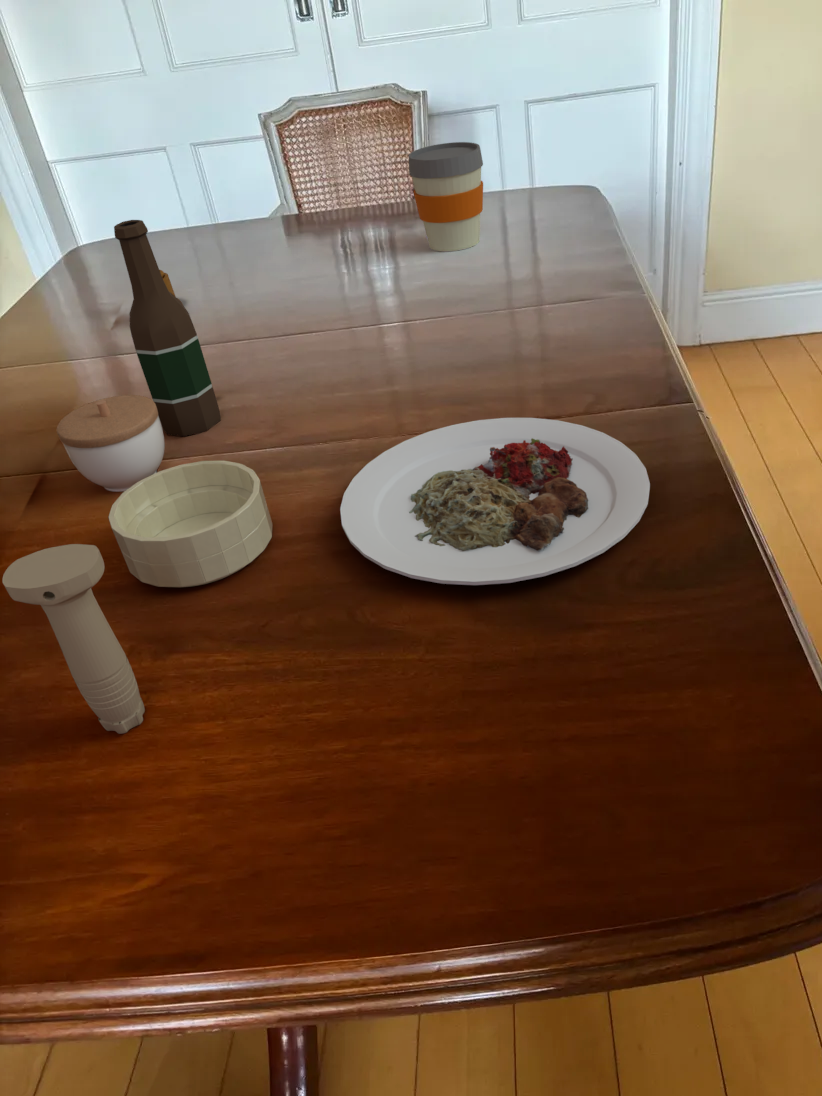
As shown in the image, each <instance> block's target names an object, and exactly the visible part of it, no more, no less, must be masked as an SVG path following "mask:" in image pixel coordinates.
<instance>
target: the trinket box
mask: <svg viewBox="0 0 822 1096" xmlns="http://www.w3.org/2000/svg"><path fill="white" fill-rule="evenodd" d="M56 433H57V436H58V438H59V441H60V442H61V443H62V444H63V447H64V449H65V452H66V454H67V455H68V458H69V459H70V461H71V462H72V464H73V466H74V467H75V469H76V470H77V471H78V472H79V473H80V474H81V475H82V476H83V477H84V478H85V479H86V480H88V481H90V482H92V483H93V484H94V485H98V486H100V487H103V488H104V490H106V491H109V492H113V493H119V492H122V493H123V492H124V491H126V490H127V489H129V488H130V487H132V486H133V485H134V484H136V483H137V482H139V481H140V480H142V479H145V478H147V477H149V476H151V475H153V474H155V473H157V472H158V471H157V470H158V469H159V467H160V466H161V464H162V461H163V459H164V455H165V449H166V448H165V447H166V444H165V443H166V442H165V435H164V429H163V427H162V424H161V422H160V419H159V416H158V410H157V407H156V404H155V403H154V401H153V399H152V398H150V397H146V396H144V395H138V394H125V395H123V394H121V395H115V396H109V397H105V398H102V399H97V400H94V401H91V402H89V403H86V404H83V405H82V406H80V407H77V408H76V409H73V410H72V411H70V412H69V413H68V414H66V415H65V416H64V417H62V418H61V419H60V421H59V423H58V424H57V427H56Z"/></svg>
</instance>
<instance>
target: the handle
mask: <svg viewBox="0 0 822 1096" xmlns="http://www.w3.org/2000/svg"><path fill="white" fill-rule="evenodd" d="M104 572H105V562H104V559H103V556H102V554H101V552H100V549H99V548H98V547H97V545H94V544H84V543H83V544H82V543H71V544H63V545H58V546H52V547H48V548H47V547H46V548H44V549H39V550H38V551H35V552H33V553H29V554H27V555H25V556H22V557H20V558H18V559H16V560H15V561H13V562H12V563H11V564H10V565H8V567H7V569H5V571H4V573H3V576H2V584H3V586H4V588H5V590H6V591H7V593H8V595H9V597H10V598H11V599H12V600H13V601H15V602H20V603H24V604H29V605H38V606H39V605H40V607H41V608H42V610H43V612H44V613H45V615H46V617H47V619H48V621H49V624H50V626H51V629H52V631H53V633H54V635H55V637H56V640H57V642H58V644H59V647H60V649H61V652H62V654H63V657H64V660H65V663H66V664H67V667H68V669H69V672H70V674H71V676H72V678H73V681H74V682H75V684H76V687H77V689H78V690H79V692H80V694H81V695H82V697H83V699H84V700H85V702H86V704H87V705H88V707H89V708H90V709H91V710H92V712H93V713H94V714H95V715H96V716H97V717H98V719H97V720H98V722H99V723H100V725H101V726H102V727H103V729H105V730H106V731H107V732H110V731H111V732H115V733H117V734H119V735H122V734H126V733H128V732H129V731H130V730H131V729H133V728H135V727H137V726H140V725H141V724H142V723H143V722H144V717H143V715H144V714H145V711H146V709H145V705H144V702H143V698H142V697H141V695H140V689H139V685H138V682H137V679H136V676H135V673H134V671H133V669H132V666H131V663H130V662H129V659H128V657H127V655H126V653H125V651H124V648H123V647H122V645H121V644H120V642H119V640H118V638H117V637H116V636H117V635H116V634H115V633H114V631H113V629H112V628H111V626H110V623H109V622H108V620H107V618H106V616H105V615H104V613H103V610H102V609H101V607H100V605H99V603H98V601H97V599H96V597H95V596H94V592H93V590H92V588H93V587H95V585H97V584H98V583H99V581H100V580H101V578H102V577H103V575H104Z"/></svg>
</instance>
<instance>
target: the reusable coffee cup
mask: <svg viewBox="0 0 822 1096" xmlns="http://www.w3.org/2000/svg"><path fill="white" fill-rule="evenodd" d="M483 166H484V161H483V156H482V150H481V146H480V144H478V143H475V142H469V141H455V142H444V143H437V144H433V145H428V146H424V147H420V148H417V149H416V150H415V149H414V150H413V151H411V152H410V153H409V154H408V174H409V176H410V177H411V179H412V184H413V187H414V189H413V191H412V193H413V197H414V200H415V201H414V202H415V204H416V208H417V213H418V217H419V220H421V221H422V223H423V227H424V230H425V235H426V238H427V242H428V246H429V249H430V250H432V251H435V252H457V251H462V250H466V249H471V248H472V247H474V246H476V245H478V244H479V242H480V239H481V238H480V237H481V236H480V235H481V234H480V233H481V232H480V231H481V213H482V212H483V209H484V208H483V205H484V204H483V203H484V181H483V180H482V167H483Z"/></svg>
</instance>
